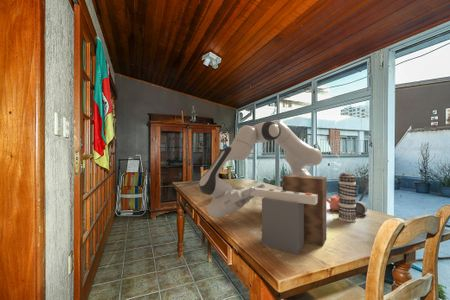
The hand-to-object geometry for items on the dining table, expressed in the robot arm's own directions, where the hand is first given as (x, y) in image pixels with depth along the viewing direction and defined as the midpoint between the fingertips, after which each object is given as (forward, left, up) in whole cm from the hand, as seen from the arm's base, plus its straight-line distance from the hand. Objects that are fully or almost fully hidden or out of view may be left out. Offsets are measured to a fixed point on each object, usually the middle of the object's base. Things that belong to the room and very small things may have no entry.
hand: (259, 187), depth 87 cm
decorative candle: (-1, +58, -22) cm, 62 cm away
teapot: (-15, +69, -22) cm, 73 cm away
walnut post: (+7, +18, -22) cm, 29 cm away
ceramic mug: (-5, +72, -22) cm, 75 cm away
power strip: (+8, +5, -4) cm, 10 cm away
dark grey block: (+9, +5, -22) cm, 24 cm away
